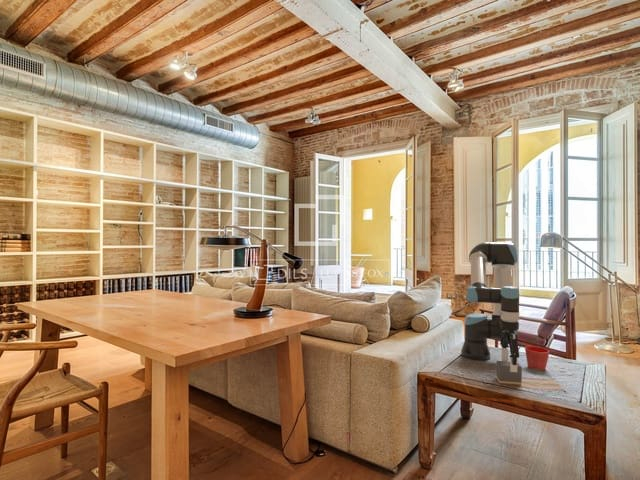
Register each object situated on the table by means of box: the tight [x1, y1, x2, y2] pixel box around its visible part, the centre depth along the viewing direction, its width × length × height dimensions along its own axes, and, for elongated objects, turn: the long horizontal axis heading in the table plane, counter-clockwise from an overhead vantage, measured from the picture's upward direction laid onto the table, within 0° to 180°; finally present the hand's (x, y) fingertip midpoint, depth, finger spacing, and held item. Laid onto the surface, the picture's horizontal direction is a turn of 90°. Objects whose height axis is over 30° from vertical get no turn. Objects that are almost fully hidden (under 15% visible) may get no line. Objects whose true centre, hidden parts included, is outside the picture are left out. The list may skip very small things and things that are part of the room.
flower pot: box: [524, 345, 550, 371], centre depth 189 cm, size 11×11×10 cm
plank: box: [493, 374, 567, 394], centre depth 168 cm, size 13×26×1 cm, turn 78°
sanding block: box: [495, 360, 523, 384], centre depth 170 cm, size 6×9×8 cm, turn 78°
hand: (509, 366), depth 169 cm, fingers open, 13 cm apart
